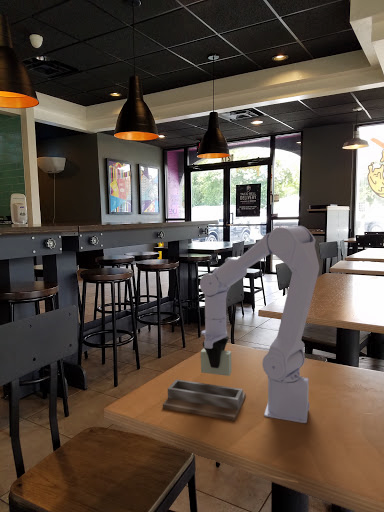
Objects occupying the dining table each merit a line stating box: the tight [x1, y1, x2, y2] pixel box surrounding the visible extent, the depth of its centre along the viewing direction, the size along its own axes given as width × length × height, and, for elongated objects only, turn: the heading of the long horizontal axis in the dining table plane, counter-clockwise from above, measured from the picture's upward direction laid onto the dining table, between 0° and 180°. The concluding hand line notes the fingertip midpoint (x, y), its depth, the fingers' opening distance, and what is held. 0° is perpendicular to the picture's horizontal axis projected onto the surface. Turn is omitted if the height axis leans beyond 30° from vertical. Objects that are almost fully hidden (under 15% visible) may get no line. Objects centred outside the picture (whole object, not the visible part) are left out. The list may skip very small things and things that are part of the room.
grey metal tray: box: [162, 378, 247, 422], centre depth 93 cm, size 18×12×4 cm, turn 70°
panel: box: [200, 347, 233, 377], centre depth 102 cm, size 8×2×6 cm, turn 70°
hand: (216, 365), depth 102 cm, fingers closed on panel, 2 cm apart
